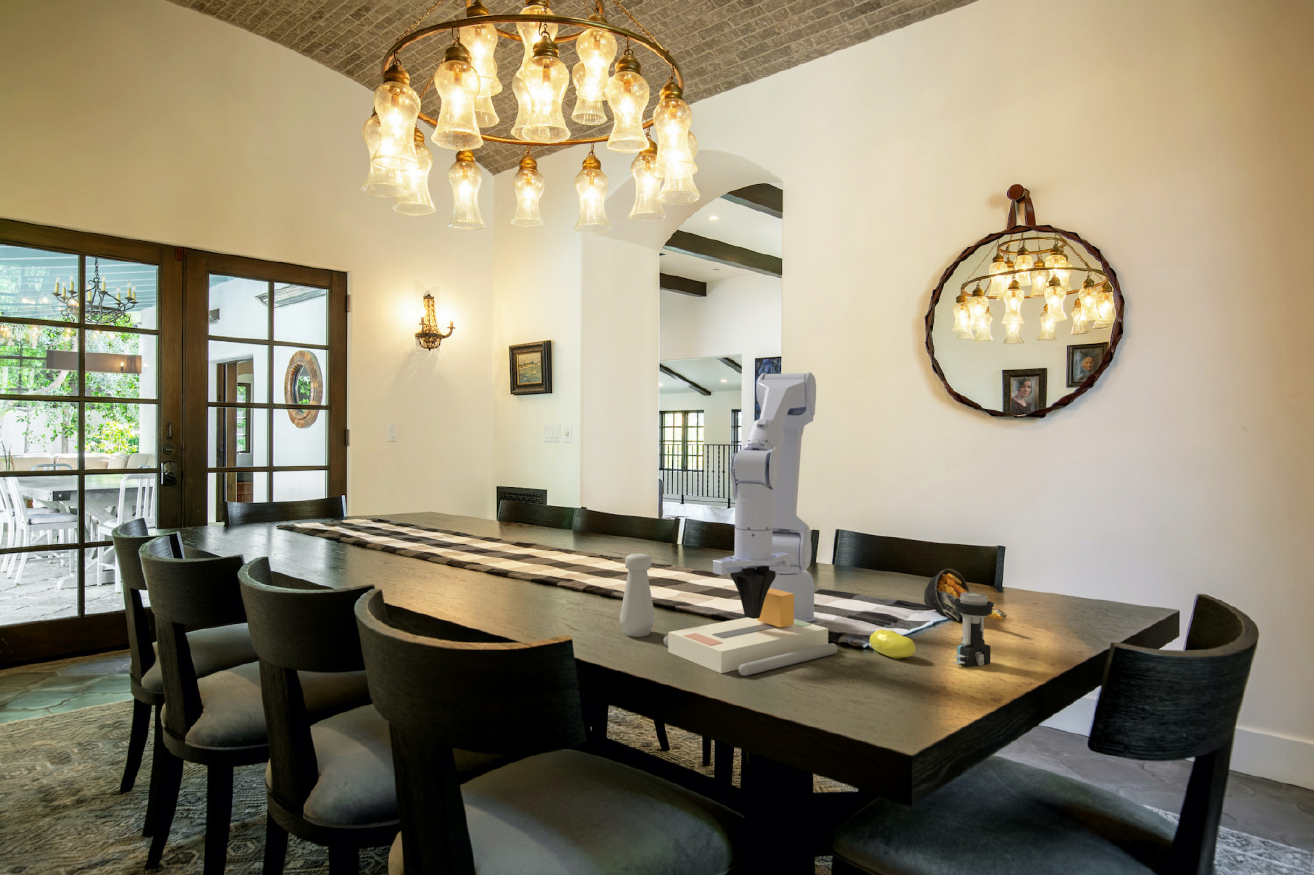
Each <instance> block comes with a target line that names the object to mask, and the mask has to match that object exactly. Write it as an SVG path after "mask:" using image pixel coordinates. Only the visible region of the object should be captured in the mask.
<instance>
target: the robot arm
mask: <svg viewBox="0 0 1314 875" xmlns="http://www.w3.org/2000/svg"><path fill="white" fill-rule="evenodd" d="M755 393H756V400H757V403H758V405H759V409H760V411H761V412H760V415H759V419H756V420H754V422H752V423H751V424H750V426H749V428H748V432H747V435H746V437H745V440H744V442H743V445H742V446H741V449H739V450H738V451H737V453H736V452H735V453H733V454H732V456H731V460H730V470H729V472H730V481H731V487H732V488H731V489H732V498H734V502H735V503H734V553H733V554H734V555H731V556H727V557H724V558H720V559H714V560H712V574H716V575H719V576H725V575H727V574H730V577H731V579H732V581H733V582H734V585H735V587H736V589H737V591H738V595H739V597H740V602H741V605H742V611H743V614H744V615H743V616H744V618H747V617H748V618H752V619H756V618H760V615H761V611H762V607H763V603H764V600H765V597H766V594H767V592H768V590H769V588H772V589H776V590H780V591H784V592H789V593H793V594H794V619H796V620H800V621H803V622H807V623H811V622H815V621H818V617H817V616H815V581H814V578H813V576H812V574H811V573H810V572H809V571H808V570H807V569H808V568H809V567H810V564H811V562H812V561H811V560H812V531H811V529H810V526H809V525H808V524H807V523H806V521H804V520H802V518H800V517H799V516H798V515H797V508H798V498H799V497H798V495H799V494H798V493H799V483H800V482H799V481H800V467H801V465H800V464H801V453H802V451H801V450H802V437H803V435H804V429H805V426H806V425H808V424H811V423H812V422H813V421H814V418H815V417H814V416H815V414H816V402H817V401H816V400H817V383H816V377H815V375H813V373H812V372H809V371H808V372H800V373H799V372H797V373H766V372H762V373H761V374H760V376H758V378H757V381H756V390H755Z"/></svg>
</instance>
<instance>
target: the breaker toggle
mask: <svg viewBox="0 0 1314 875" xmlns="http://www.w3.org/2000/svg"><path fill="white" fill-rule="evenodd" d="M757 621H760V622H764V623H767V624H770V625H774V626H777V627H785V626H790V625H794V594H793V593H789V592H784V591H780V590H776V589H772V588H769V590H768V592H767V594H766V597H765V600H764V603H763V607H762V611H761V615H760V618H757Z"/></svg>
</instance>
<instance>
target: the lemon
mask: <svg viewBox="0 0 1314 875" xmlns="http://www.w3.org/2000/svg"><path fill="white" fill-rule="evenodd" d="M869 644H870V646H871V647H872V648H873V650H875V651H876V652H878V653H879V654H882V655H884V656H887V657H889V658H892V659H898V660H899V659H902V658H908V657H912V656H913V655H914V654H915V652H916V648H917V647H916V645H915V642H914V641H913V640H912V639H911V638H909V637H907V636H904V635H902V634H899V633H897V632H896V631H894V630H889V629H888V630H887V629H881V628H880V629H878V630H875V631H874V632H872V634H871V635H870V636H869Z"/></svg>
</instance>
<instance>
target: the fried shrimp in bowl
mask: <svg viewBox="0 0 1314 875" xmlns="http://www.w3.org/2000/svg"><path fill="white" fill-rule="evenodd" d="M965 592H971V591H970V589H969V585H968V584H967V581H966V580H965V578H964V577H963V576H962V575H961V574H960V572H958V571H956V570H954V569H952V568H944V569H942V570H940V571H939V572H938V574H936V575H935V576H933V577H932V578H931V579H930V580H929V582H928V584H927V587H926V588H924V592H923V602H924V604H925V605H926V606H927V607H929V608H931V609H934V610H935V611H936V612H938V613H940V614H943V615H945V616H946V617H948V618H950V619H952V620H954V621H955V622H960V620H963V617H962V615H961V614H960V613H959V612H957V611H956V610H955V603H954V599H956V598H960V597H961V593H965ZM1006 617H1008V615H1007V613H1006V612H1004V611H1003V610H1001V609H999V608H994V607H992V614H990V615H988V616H987V617H986V618H992V619H993V620H998V621H999V620H1001V621H1002V620H1003V621H1004V620H1006Z"/></svg>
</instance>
